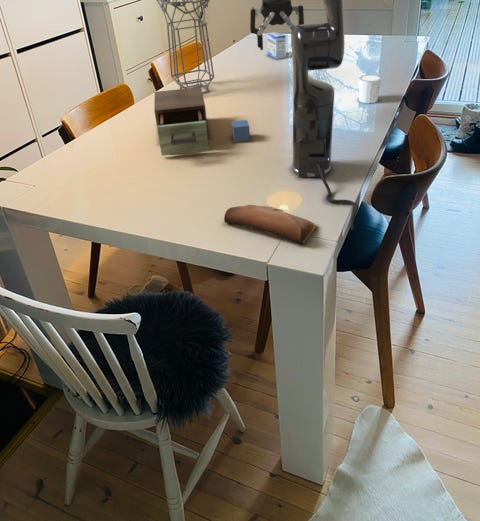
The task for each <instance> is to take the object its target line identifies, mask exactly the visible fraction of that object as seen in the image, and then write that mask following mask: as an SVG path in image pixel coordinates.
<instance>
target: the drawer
mask: <svg viewBox="0 0 480 521" xmlns="http://www.w3.org/2000/svg"><path fill="white" fill-rule="evenodd" d="M207 129H208V127H207V128H206V121H202V116H201V111H200V109H196V110H186V111H176V112H167V113H160V125H159V126H157V125H156V130H157V135H158V142H159V147H160V148H159V149H160V153H161V157H162V156H169V155H170V156H171V155H180V154H188V153H198V152H206V151H209V150H210V149H209V148H210V147H209V136H208V137H207Z"/></svg>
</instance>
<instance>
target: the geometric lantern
mask: <svg viewBox="0 0 480 521" xmlns="http://www.w3.org/2000/svg"><path fill="white" fill-rule="evenodd" d="M155 1H156V2H157V4H158V6H159V8H160V10H161V11H162V13H163V15H164V19H165V22H166V30H167V44H168V54H169V56H168V57H169V66H170V67H169V68H170V78H171V79H172V80H173V81H174V82H175V83H176V84H177V85H178V86H179V89H188V88H197V87H201V88H204V89H206V91H205V90H204V91H202V94H205V93H208V92H209V91H210V88H209V85H210V84H211V83H212V81H213V80H214V79H215V73H214V66H213V60H212V52H211V45H210V39H209V33H208V26H207V25H208V22H205V18H206V17H205V16H206V15H205V13H206V12H205V9H208V8H209V3H210V1H211V0H182V1H178V0H172V1H171V0H155ZM197 3H200V4H199V5H197V6H196V7H195V4H197ZM187 4H192V7H193V9H191V10H188V9H187V7H186V5H187ZM168 5H171V6H172V7H174V9H173V12H172V17H170V15H169V12H168V10H167V9H168ZM181 7H183V8H184V9H181ZM200 8H201V10H200V13H198V11H197V10H199V9H200ZM176 10H178V11H179V12H181V13H182V16H181V18H180V20H177V21H174V18H175V14H176ZM194 12H195V15H196V16H197V18H194V17H193V15H192V13H194ZM187 14H189V16H191V18H190V19H183V18H184V16H185V15H187ZM202 15H203V20H202V19H201V18H202ZM167 18H168V19H167ZM168 20H169V22H168ZM191 21H193V25H191V26H186V27H179V26H180V24H181V23H182V22H191ZM196 22H197V23H196ZM174 24H177V25H176V27H175V25H174ZM197 24H198V25H197ZM204 27H205V30H204ZM192 28H193V29H194V36H195V39H194V40H195V48H196V49H195V50H196V59H197V60H196V61H197V69H195V70H194V69H193V70H189V71H185V66H184V59H183V57H184V56H183V51H182V44H181V37H180V30H186V29H192ZM197 28H198V33H199V38H200V45H201V51H202V52H201V53H202V60H203V63H204V64H203V65H204V69H200V57H199V45H198V34H197ZM170 33H171V34H170ZM176 33H177V41H178V46H179V53H180V54H179V55H180V62H181V68H182V72H179V67H178V66H179V65H178V52H177V42H176ZM205 34H206V37H205ZM170 35H171V36H170ZM170 37H171V40H170ZM206 41H207V42H206ZM171 46H172V51H171ZM207 48H208V49H207ZM172 61H173V64H172ZM206 64H207V65H206ZM210 68H211V69H210ZM197 72H198V73H197ZM201 72H204V73H203V74H202V76H201V77H200V73H201ZM173 73H174V74H173ZM191 73H197V78H196V79H192V80H187V79H186V78H187V77H186V74H191ZM206 74H208V77H209V79H203V78H204V77H205V75H206ZM181 75H183V82H181V80H180V78H179V76H181ZM202 83H204V84H202Z"/></svg>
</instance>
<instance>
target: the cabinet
mask: <svg viewBox="0 0 480 521" xmlns="http://www.w3.org/2000/svg"><path fill="white" fill-rule="evenodd" d="M196 87H197V88H193V87H189V88H188V87H187V89H185V88H182V89H180V88H179V89H178V88H177V89H170V90H169V89H168V90H159V91H154V102H153V103H154V104H153V105H154V106H153V108H154V110H153V111H154V116H155V123H156V127H157V126H159V125H160V113H167V112H176V111H186V110H196V109H200V111H201V116H202V121H206V128H207V137H208V138H209V130H208V120H207V110H206V103H205V99H204V93H202V92H203V90H202V87H198V86H196Z"/></svg>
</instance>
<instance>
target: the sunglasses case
mask: <svg viewBox="0 0 480 521" xmlns="http://www.w3.org/2000/svg"><path fill="white" fill-rule="evenodd" d="M223 220H224V223H227V224H230V225H231V224H232V225H234V226H235V225H236V226H240V227H244V228H249V229H253V230H257V231H260V232H264V233H268V234H272V235H273V236H278V237H282V238H285V239H289V240H292V241H295V242H299V243H302V244H305V243H306V242H307V241H308V240H309V238H311V236H312V234H313V232H314V231H315V230H316V229H317V224H315V223H314V222H312V221H310V220H309V219H305V218H303V217H300V216H297V215H295V214H291V213H288V212H285V211H284V210H283V209H280V208H276V207H273V206H268V205H267V206H265V205H264V206H263V205H256V204H255V205H253V204H247V205H238V206H232V207H228V209H227V210H226V211H225V213H224V216H223Z"/></svg>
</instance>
